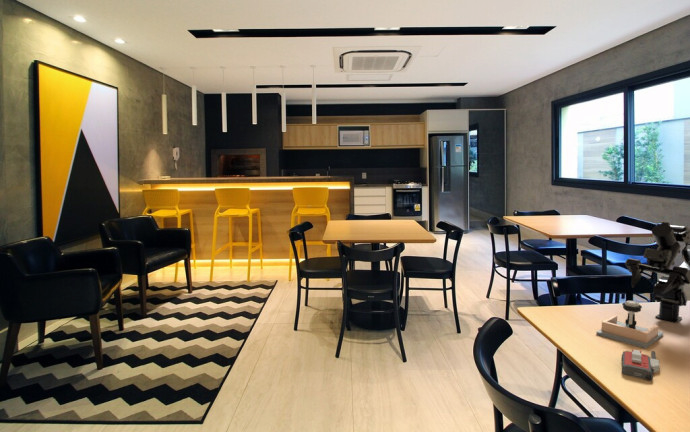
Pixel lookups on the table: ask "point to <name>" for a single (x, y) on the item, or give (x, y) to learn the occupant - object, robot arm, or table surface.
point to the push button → (631, 313)
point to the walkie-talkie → (639, 364)
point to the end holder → (629, 333)
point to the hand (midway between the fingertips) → (646, 289)
